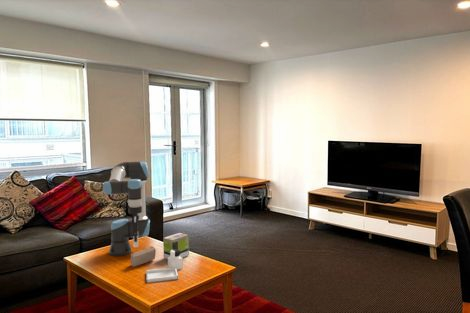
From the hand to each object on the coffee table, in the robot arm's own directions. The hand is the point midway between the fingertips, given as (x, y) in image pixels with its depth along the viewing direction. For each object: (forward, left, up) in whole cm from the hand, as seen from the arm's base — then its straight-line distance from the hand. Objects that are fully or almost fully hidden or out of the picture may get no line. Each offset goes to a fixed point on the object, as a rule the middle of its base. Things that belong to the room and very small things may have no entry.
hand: (135, 244), depth 200 cm
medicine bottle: (-11, +24, -21) cm, 34 cm away
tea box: (-30, +26, -21) cm, 45 cm away
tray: (0, +15, -21) cm, 25 cm away
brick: (-24, +4, -21) cm, 32 cm away
